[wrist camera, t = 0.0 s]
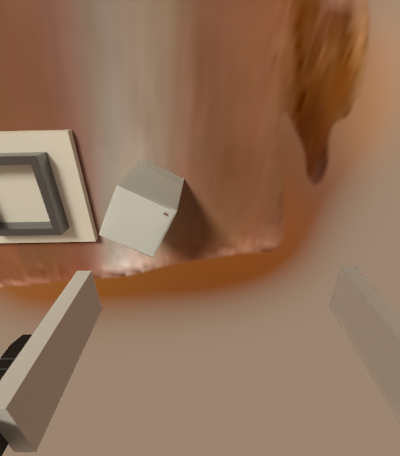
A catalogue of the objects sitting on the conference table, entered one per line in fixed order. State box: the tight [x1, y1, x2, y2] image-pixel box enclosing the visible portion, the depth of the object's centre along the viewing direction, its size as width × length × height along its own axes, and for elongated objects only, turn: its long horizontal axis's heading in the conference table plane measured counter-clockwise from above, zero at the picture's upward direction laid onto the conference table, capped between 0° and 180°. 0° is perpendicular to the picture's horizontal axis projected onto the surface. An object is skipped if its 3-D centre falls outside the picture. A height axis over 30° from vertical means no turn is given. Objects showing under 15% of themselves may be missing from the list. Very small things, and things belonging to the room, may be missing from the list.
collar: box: [0, 152, 69, 236], centre depth 38 cm, size 12×12×2 cm
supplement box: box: [99, 158, 184, 257], centre depth 35 cm, size 7×7×13 cm
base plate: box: [0, 130, 98, 243], centre depth 40 cm, size 18×20×1 cm
